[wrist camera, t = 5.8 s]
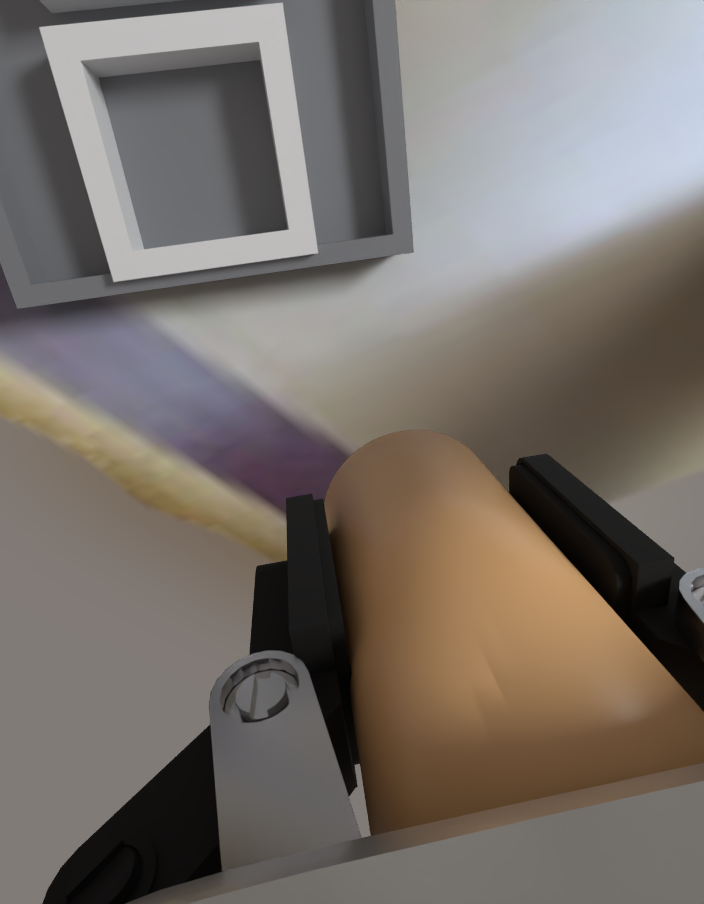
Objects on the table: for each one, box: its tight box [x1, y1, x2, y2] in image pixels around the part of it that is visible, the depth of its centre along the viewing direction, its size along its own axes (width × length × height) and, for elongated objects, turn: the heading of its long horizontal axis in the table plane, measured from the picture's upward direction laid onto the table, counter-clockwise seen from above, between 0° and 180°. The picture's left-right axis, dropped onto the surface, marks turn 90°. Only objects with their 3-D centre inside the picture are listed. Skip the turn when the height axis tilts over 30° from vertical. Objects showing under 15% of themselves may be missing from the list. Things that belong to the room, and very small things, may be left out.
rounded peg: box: [324, 430, 704, 836], centre depth 9 cm, size 4×4×8 cm
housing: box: [0, 0, 414, 309], centre depth 19 cm, size 16×18×3 cm
